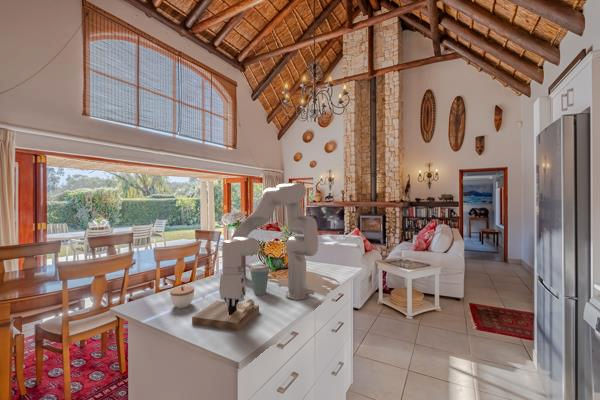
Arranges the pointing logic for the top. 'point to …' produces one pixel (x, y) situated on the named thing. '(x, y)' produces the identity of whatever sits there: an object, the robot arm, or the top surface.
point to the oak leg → (242, 311)
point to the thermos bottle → (243, 265)
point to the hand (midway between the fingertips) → (232, 314)
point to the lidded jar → (182, 296)
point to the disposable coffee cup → (259, 278)
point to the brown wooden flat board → (222, 316)
